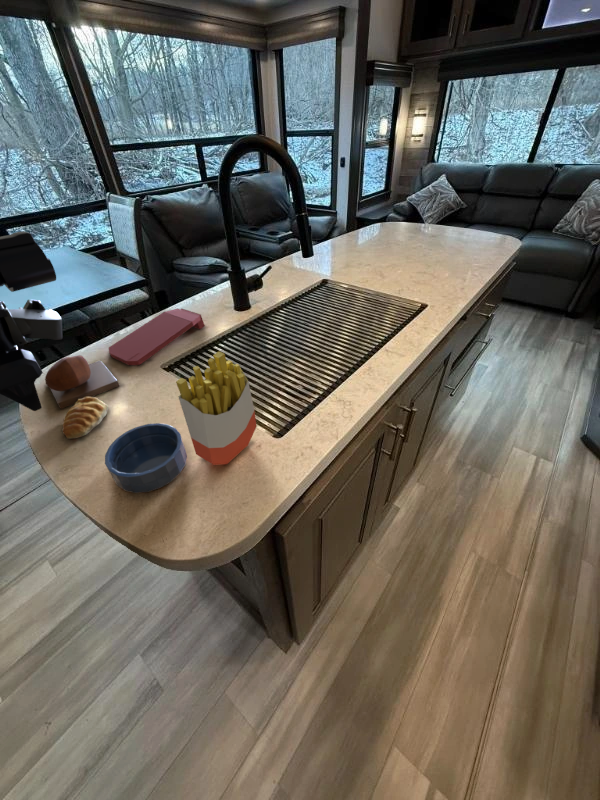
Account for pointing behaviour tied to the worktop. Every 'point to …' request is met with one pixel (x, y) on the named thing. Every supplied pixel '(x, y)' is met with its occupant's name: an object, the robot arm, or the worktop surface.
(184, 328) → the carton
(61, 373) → the potato
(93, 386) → the flat rectangular box
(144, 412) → the worktop surface
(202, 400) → the french fries container
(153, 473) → the bowl
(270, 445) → the worktop surface
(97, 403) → the pastry
